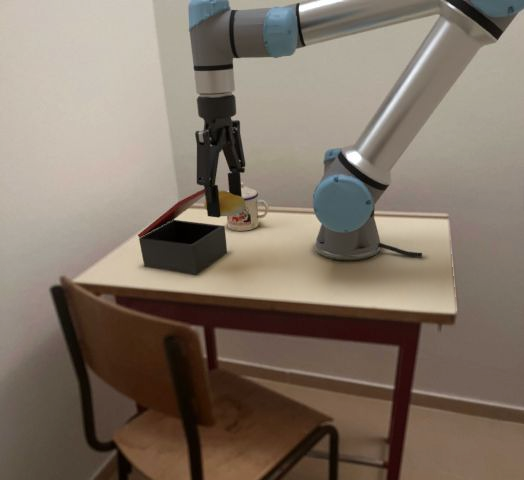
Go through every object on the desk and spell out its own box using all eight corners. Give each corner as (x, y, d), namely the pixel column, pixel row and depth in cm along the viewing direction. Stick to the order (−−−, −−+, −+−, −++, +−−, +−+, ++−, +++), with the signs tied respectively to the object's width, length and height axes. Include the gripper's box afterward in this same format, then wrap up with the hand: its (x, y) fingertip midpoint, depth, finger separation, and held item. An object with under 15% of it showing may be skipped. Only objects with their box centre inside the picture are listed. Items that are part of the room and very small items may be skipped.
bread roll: (224, 220, 107) (222, 200, 105) (199, 211, 113) (197, 192, 110) (254, 210, 111) (253, 192, 109) (229, 202, 117) (227, 184, 115)
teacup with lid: (222, 230, 140) (218, 187, 134) (232, 219, 147) (229, 178, 141) (264, 232, 137) (262, 188, 131) (273, 221, 144) (271, 179, 138)
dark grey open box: (227, 253, 126) (224, 225, 123) (196, 275, 116) (192, 246, 112) (177, 245, 132) (173, 219, 129) (144, 266, 122) (138, 238, 118)
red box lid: (214, 187, 118) (212, 184, 118) (180, 205, 108) (178, 201, 108) (174, 219, 128) (172, 216, 128) (139, 238, 118) (137, 235, 118)
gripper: (226, 87, 109) (234, 194, 121) (167, 102, 93) (183, 223, 105) (258, 87, 106) (263, 197, 118) (202, 102, 90) (214, 227, 102)
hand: (225, 209), depth 112 cm, fingers closed on bread roll, 9 cm apart
